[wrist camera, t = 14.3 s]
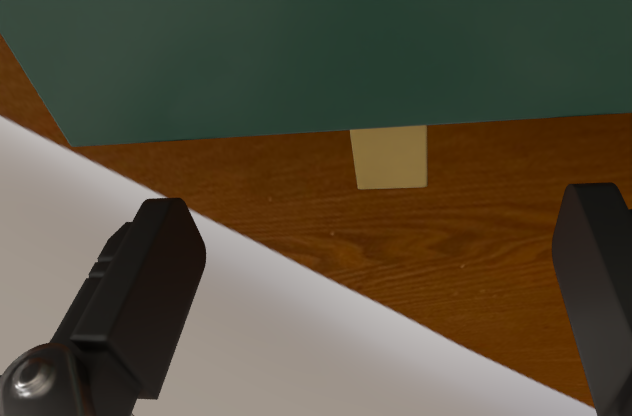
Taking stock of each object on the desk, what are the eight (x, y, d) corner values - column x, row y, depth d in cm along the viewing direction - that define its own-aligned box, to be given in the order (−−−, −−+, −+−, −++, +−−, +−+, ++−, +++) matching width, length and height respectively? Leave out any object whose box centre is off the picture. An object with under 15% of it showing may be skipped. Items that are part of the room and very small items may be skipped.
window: (294, 68, 18) (242, 227, 12) (259, -101, 15) (159, 11, 9) (505, 50, 17) (561, 221, 11) (526, -145, 13) (631, -46, 7)
